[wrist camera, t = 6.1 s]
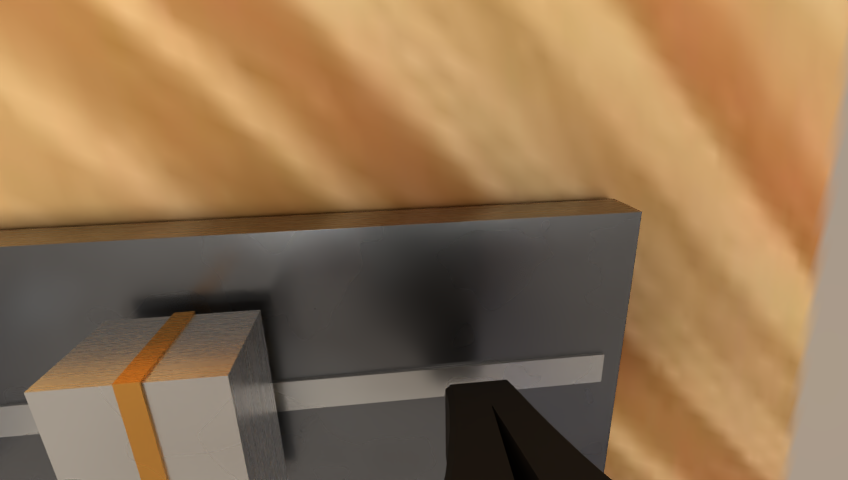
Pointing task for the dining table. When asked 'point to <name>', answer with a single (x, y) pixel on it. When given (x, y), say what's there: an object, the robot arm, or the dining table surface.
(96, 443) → the block
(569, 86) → the dining table surface
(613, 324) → the plate
